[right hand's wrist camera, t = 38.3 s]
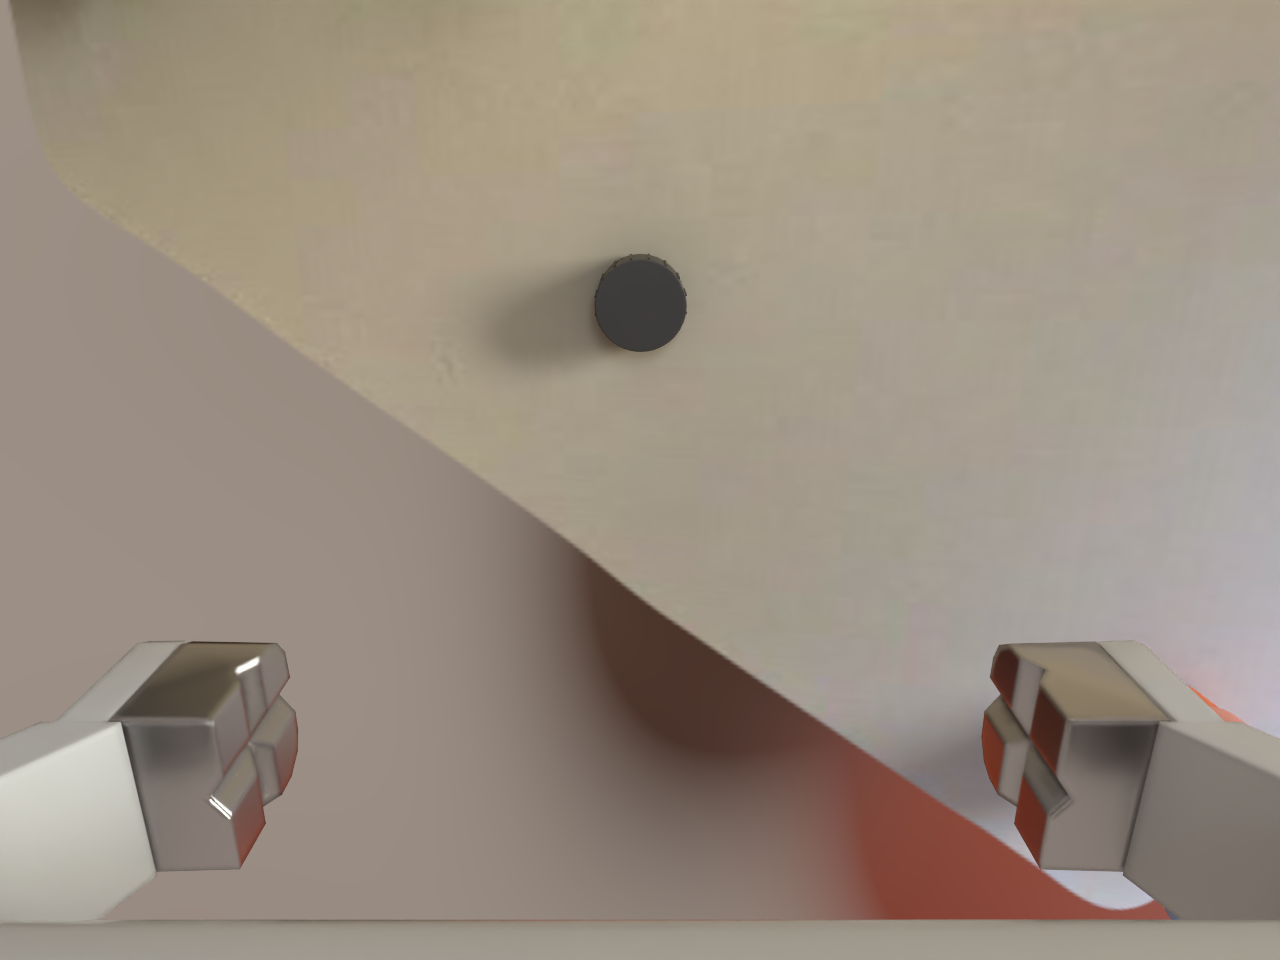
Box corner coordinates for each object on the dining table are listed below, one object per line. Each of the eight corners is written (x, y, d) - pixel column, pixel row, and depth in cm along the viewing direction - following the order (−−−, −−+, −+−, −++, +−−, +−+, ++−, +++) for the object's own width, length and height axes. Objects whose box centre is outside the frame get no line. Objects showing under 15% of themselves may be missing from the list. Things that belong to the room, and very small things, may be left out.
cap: (598, 343, 40) (595, 353, 38) (595, 254, 38) (592, 259, 36) (684, 341, 40) (687, 351, 38) (684, 252, 38) (687, 258, 36)
